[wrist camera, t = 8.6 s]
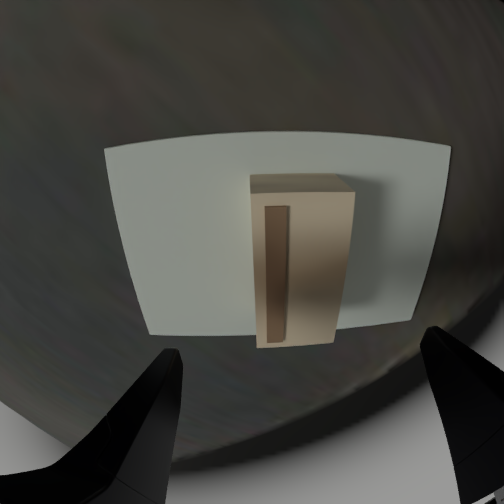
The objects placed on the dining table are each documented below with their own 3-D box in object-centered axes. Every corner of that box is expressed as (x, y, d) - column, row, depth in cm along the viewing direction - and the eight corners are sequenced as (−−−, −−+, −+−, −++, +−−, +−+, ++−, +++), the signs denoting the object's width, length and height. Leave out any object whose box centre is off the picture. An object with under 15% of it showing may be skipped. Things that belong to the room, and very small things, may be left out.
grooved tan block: (322, 306, 17) (334, 344, 14) (255, 310, 17) (257, 350, 14) (334, 173, 13) (356, 193, 10) (249, 174, 13) (250, 195, 10)
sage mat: (445, 144, 12) (450, 146, 12) (407, 315, 18) (410, 319, 18) (108, 147, 13) (104, 149, 12) (151, 329, 18) (150, 334, 18)
